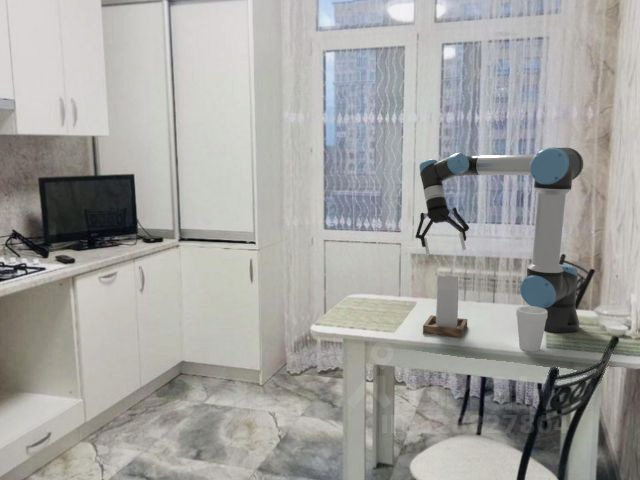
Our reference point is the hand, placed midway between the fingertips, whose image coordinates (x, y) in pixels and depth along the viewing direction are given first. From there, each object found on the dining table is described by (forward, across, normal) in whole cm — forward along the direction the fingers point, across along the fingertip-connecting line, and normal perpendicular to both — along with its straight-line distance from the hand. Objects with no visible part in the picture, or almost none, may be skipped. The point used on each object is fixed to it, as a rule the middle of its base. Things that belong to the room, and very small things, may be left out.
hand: (446, 252), depth 220 cm
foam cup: (+40, -17, +18) cm, 47 cm away
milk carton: (+28, +6, +3) cm, 29 cm away
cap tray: (+29, +6, +3) cm, 30 cm away
